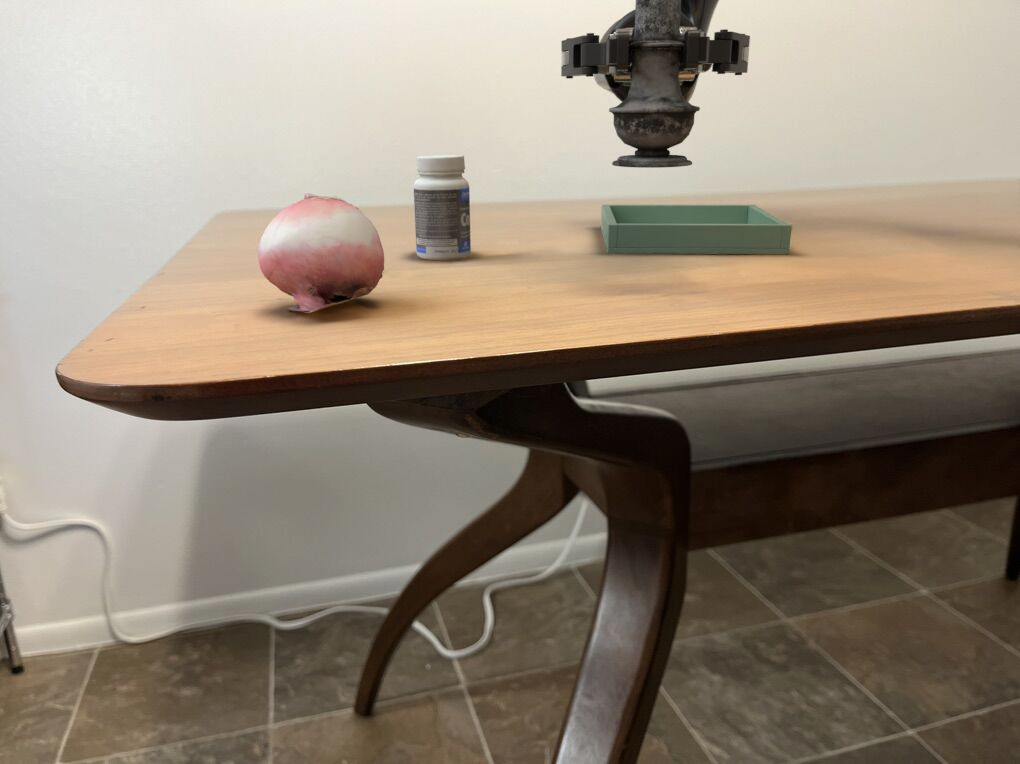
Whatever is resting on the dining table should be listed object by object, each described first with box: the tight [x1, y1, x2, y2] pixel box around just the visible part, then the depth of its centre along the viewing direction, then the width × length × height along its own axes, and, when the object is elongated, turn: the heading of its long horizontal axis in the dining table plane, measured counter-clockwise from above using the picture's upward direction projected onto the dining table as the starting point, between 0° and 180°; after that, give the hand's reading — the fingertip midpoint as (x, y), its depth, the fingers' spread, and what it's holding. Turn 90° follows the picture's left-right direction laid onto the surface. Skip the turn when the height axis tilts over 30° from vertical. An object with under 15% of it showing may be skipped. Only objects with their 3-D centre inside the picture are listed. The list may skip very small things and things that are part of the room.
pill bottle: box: [413, 154, 472, 261], centre depth 69 cm, size 5×5×8 cm
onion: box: [257, 192, 385, 314], centre depth 52 cm, size 8×8×7 cm
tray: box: [600, 204, 793, 255], centre depth 77 cm, size 16×15×2 cm
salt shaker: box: [608, 0, 701, 169], centre depth 53 cm, size 6×6×12 cm
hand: (658, 49), depth 50 cm, fingers closed on salt shaker, 3 cm apart
